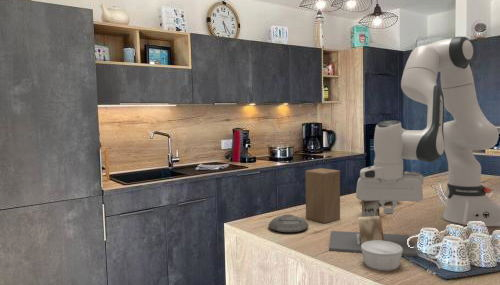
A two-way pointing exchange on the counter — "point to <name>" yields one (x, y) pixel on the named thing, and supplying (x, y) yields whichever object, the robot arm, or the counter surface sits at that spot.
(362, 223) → the maple cube
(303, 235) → the counter surface
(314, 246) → the counter surface
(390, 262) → the ramekin
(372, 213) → the coffee box
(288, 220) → the flying saucer
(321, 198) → the wooden block
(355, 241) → the rubber mat
